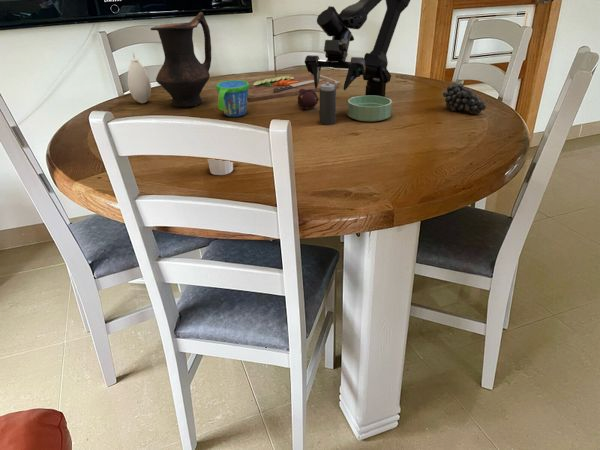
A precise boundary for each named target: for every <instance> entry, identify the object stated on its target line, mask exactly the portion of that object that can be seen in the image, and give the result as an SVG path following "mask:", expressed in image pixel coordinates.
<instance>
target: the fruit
mask: <svg viewBox="0 0 600 450" xmlns="http://www.w3.org/2000/svg"><path fill="white" fill-rule="evenodd" d="M442 97H444V102H445V106H446V107H447V108H450V110H451V112H456V111H458V112H462V111H466V112H470V114H471V115H475V114H480V113H482V111H485V110H486V109H487V105H486V103H485V101H483V99H481V98H480V97H479V96H477V95H476V94H475V93H473V90H472V89H470V88H469V89H467V88H466V87H464V84H463V83H458V82H455V83H453V84H452V85H448V86H447V88H446V91H444V92H443V93H442Z"/></svg>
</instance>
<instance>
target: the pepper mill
mask: <svg viewBox="0 0 600 450" xmlns="http://www.w3.org/2000/svg"><path fill="white" fill-rule="evenodd" d="M336 102H337V88H336V89H335V85H334V84H330V83H329V82H326V84H322V85H321V88H320V91H319V124H320V125H323V126H331V125H334V124H336V112H337V111H336V110H337V109H336V108H337V107H336V106H337V103H336Z"/></svg>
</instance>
